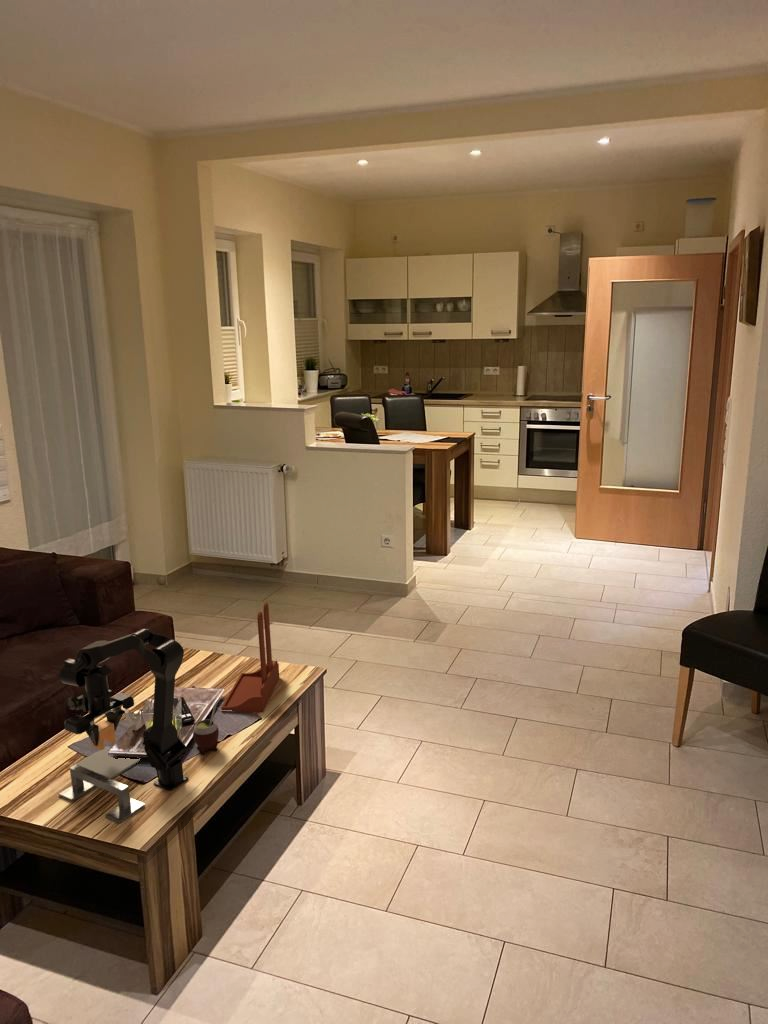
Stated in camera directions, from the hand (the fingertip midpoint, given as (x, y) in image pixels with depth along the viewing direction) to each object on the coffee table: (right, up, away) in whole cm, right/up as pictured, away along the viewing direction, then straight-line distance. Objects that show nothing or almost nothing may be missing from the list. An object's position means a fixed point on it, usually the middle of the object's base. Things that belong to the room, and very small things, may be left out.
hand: (103, 741), depth 211 cm
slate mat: (0, -7, +2) cm, 7 cm away
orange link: (0, -1, 0) cm, 1 cm away
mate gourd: (+27, -5, +8) cm, 29 cm away
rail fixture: (+5, -11, -15) cm, 19 cm away
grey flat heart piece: (+2, -3, +20) cm, 20 cm away
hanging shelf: (+34, +3, +41) cm, 53 cm away
